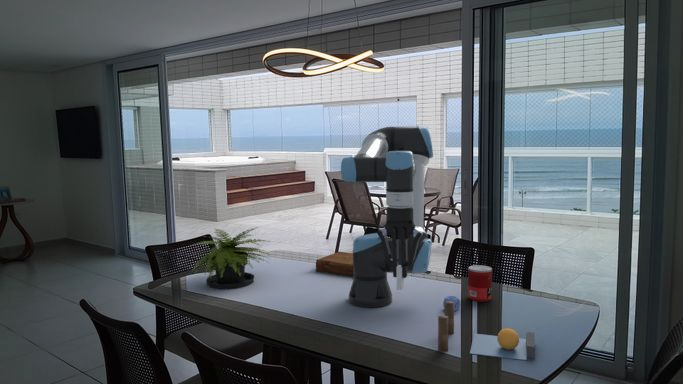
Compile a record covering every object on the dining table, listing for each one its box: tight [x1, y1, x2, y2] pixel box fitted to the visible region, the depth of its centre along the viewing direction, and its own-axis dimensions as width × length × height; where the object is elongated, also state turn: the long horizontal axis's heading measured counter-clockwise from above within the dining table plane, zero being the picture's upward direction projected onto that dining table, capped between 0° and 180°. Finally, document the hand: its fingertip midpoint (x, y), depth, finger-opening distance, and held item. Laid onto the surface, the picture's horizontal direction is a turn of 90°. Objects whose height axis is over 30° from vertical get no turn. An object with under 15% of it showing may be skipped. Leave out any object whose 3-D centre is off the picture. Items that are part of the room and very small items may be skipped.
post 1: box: [437, 314, 449, 353], centre depth 137 cm, size 3×3×9 cm
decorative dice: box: [442, 295, 461, 312], centre depth 169 cm, size 4×4×4 cm
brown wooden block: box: [315, 251, 354, 278], centre depth 222 cm, size 23×19×6 cm
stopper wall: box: [525, 331, 536, 359], centre depth 136 cm, size 2×10×3 cm, turn 161°
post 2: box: [444, 301, 455, 335], centre depth 149 cm, size 3×3×9 cm
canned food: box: [467, 264, 493, 303], centre depth 180 cm, size 8×8×11 cm
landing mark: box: [469, 333, 528, 361], centre depth 139 cm, size 14×14×1 cm
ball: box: [497, 328, 520, 350], centre depth 137 cm, size 6×6×6 cm
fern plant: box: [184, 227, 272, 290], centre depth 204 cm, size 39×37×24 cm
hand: (400, 288), depth 146 cm, fingers closed
